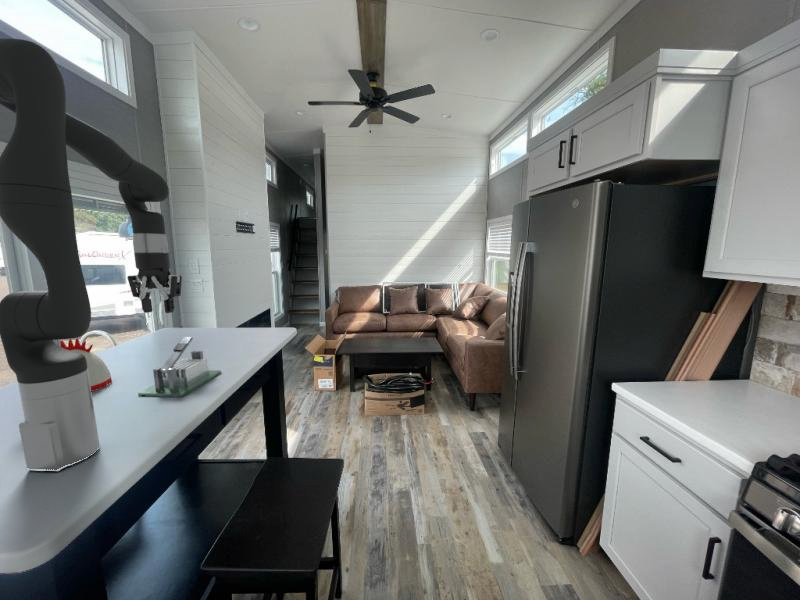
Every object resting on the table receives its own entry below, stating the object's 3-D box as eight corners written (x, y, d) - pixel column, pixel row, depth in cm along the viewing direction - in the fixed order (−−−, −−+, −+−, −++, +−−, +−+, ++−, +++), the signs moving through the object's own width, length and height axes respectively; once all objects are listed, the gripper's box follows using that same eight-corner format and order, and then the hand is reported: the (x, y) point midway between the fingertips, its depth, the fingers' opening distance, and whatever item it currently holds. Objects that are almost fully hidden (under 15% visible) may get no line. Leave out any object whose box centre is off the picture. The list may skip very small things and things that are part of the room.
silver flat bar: (169, 373, 93) (166, 370, 92) (159, 373, 93) (157, 370, 92) (193, 338, 103) (191, 336, 102) (185, 338, 103) (183, 335, 102)
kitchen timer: (60, 383, 101) (52, 336, 99) (117, 375, 107) (111, 331, 105) (37, 401, 89) (27, 348, 87) (103, 391, 95) (95, 341, 93)
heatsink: (182, 396, 91) (179, 370, 90) (138, 395, 92) (134, 369, 91) (221, 372, 109) (219, 350, 108) (183, 372, 110) (181, 349, 109)
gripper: (113, 251, 85) (122, 315, 88) (166, 251, 84) (173, 315, 87) (138, 251, 93) (145, 309, 95) (186, 251, 92) (192, 310, 94)
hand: (158, 312), depth 91 cm, fingers open, 5 cm apart
